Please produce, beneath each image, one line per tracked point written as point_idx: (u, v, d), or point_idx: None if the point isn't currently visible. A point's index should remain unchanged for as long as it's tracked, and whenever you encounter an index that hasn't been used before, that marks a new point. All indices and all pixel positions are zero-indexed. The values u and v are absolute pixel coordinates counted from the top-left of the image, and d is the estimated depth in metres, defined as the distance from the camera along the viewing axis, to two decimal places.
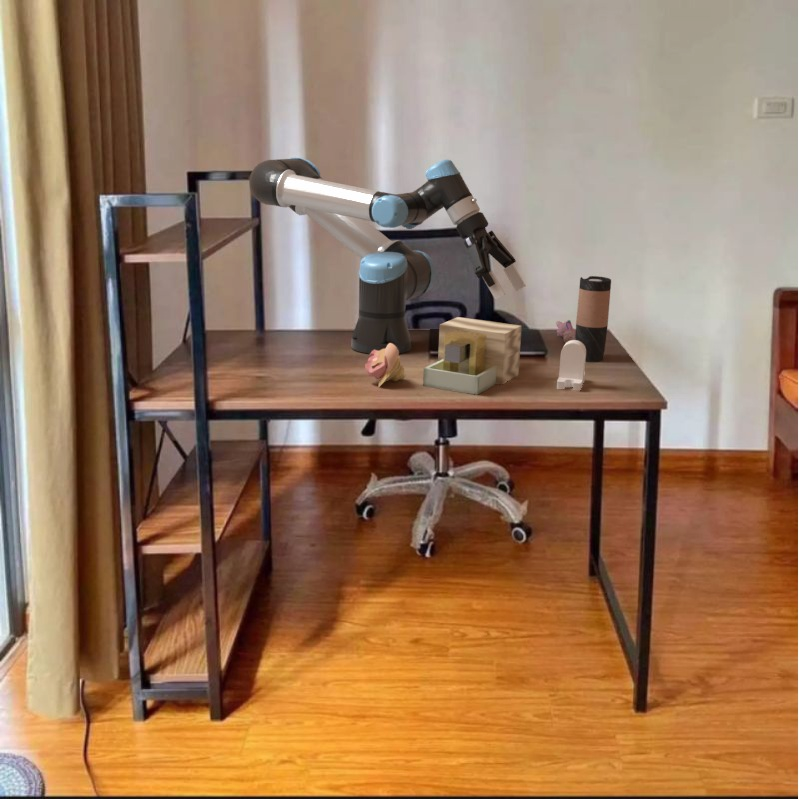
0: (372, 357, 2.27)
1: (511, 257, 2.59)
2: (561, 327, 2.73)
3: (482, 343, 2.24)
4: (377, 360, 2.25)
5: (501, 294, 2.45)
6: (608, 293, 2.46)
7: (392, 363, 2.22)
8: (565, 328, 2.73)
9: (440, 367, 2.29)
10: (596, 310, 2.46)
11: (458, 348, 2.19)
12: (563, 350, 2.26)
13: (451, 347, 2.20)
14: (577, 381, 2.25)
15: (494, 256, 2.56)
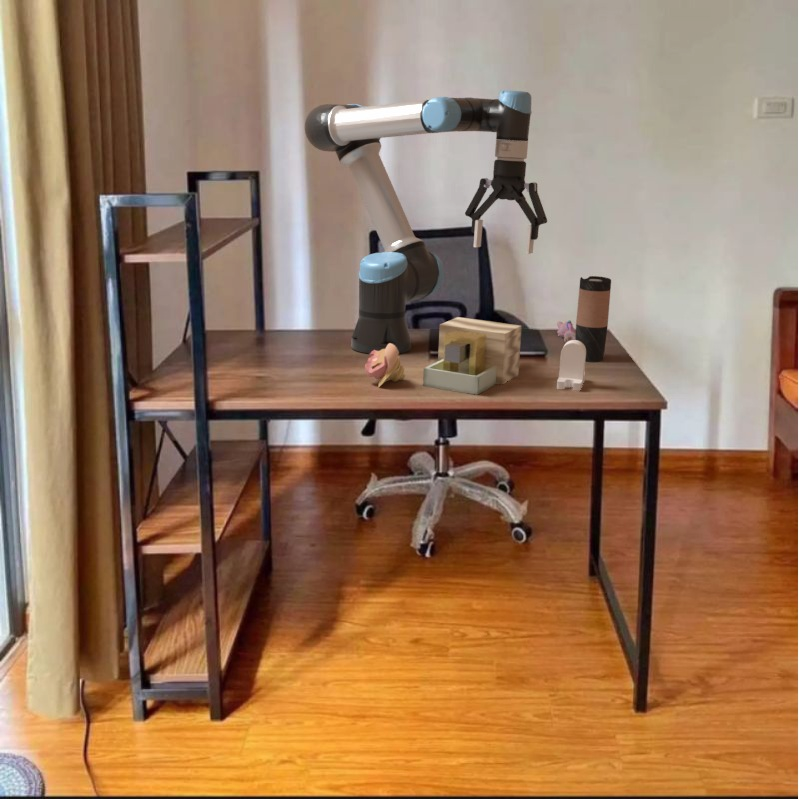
0: (372, 357, 2.27)
1: (538, 219, 2.38)
2: (562, 327, 2.73)
3: (482, 343, 2.24)
4: (377, 360, 2.25)
5: None
6: (608, 293, 2.46)
7: (392, 363, 2.22)
8: (566, 328, 2.72)
9: (440, 367, 2.29)
10: (596, 310, 2.46)
11: (458, 348, 2.19)
12: (563, 350, 2.26)
13: (451, 347, 2.20)
14: (577, 381, 2.25)
15: None
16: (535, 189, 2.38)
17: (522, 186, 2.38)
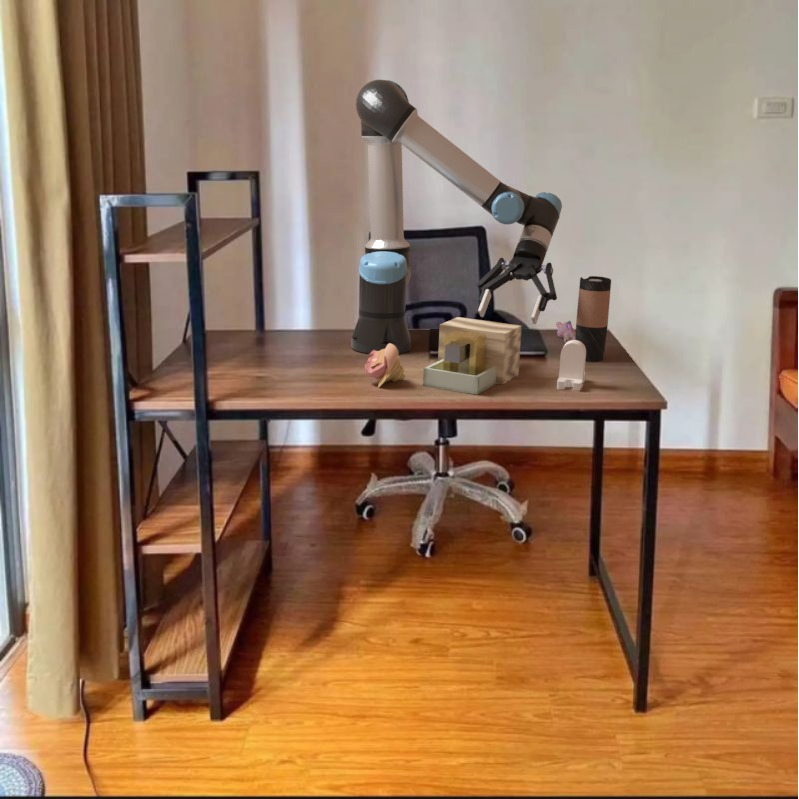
0: (372, 357, 2.27)
1: (550, 290, 2.44)
2: (561, 328, 2.73)
3: (482, 343, 2.24)
4: (377, 360, 2.25)
5: None
6: (608, 293, 2.46)
7: (392, 363, 2.22)
8: (565, 329, 2.72)
9: (440, 367, 2.29)
10: (596, 310, 2.46)
11: (458, 348, 2.19)
12: (563, 350, 2.26)
13: (451, 347, 2.20)
14: (577, 381, 2.25)
15: (536, 286, 2.48)
16: (551, 270, 2.48)
17: (539, 265, 2.49)
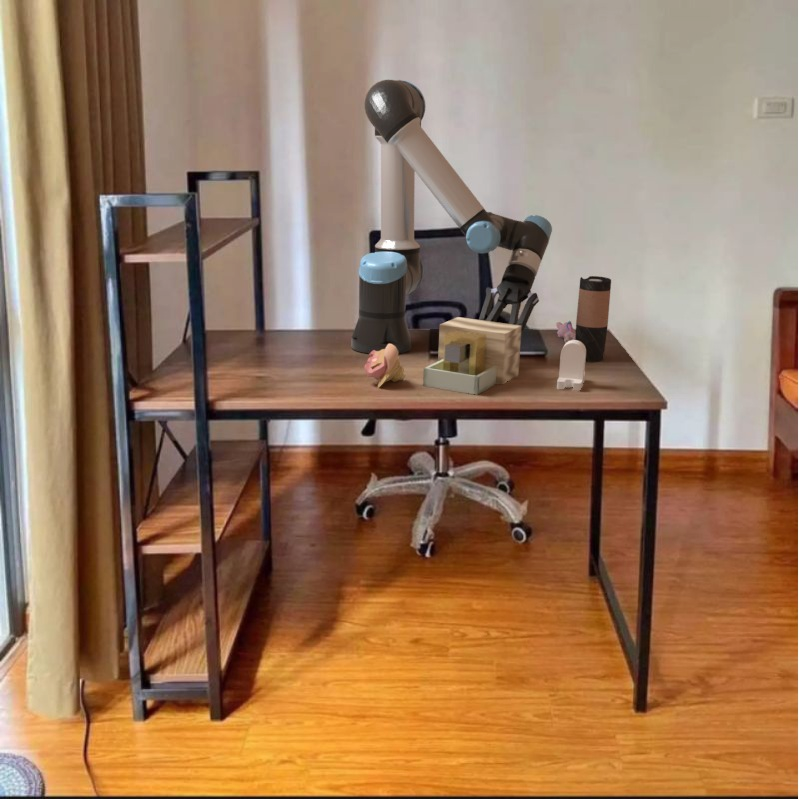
0: (371, 358, 2.26)
1: (518, 321, 2.41)
2: (561, 328, 2.72)
3: (482, 343, 2.24)
4: (377, 360, 2.25)
5: None
6: (608, 293, 2.46)
7: (392, 363, 2.21)
8: (565, 329, 2.71)
9: (440, 367, 2.29)
10: (596, 310, 2.46)
11: (458, 348, 2.19)
12: (563, 350, 2.26)
13: (451, 347, 2.20)
14: (577, 381, 2.25)
15: None
16: (534, 301, 2.43)
17: (527, 292, 2.44)
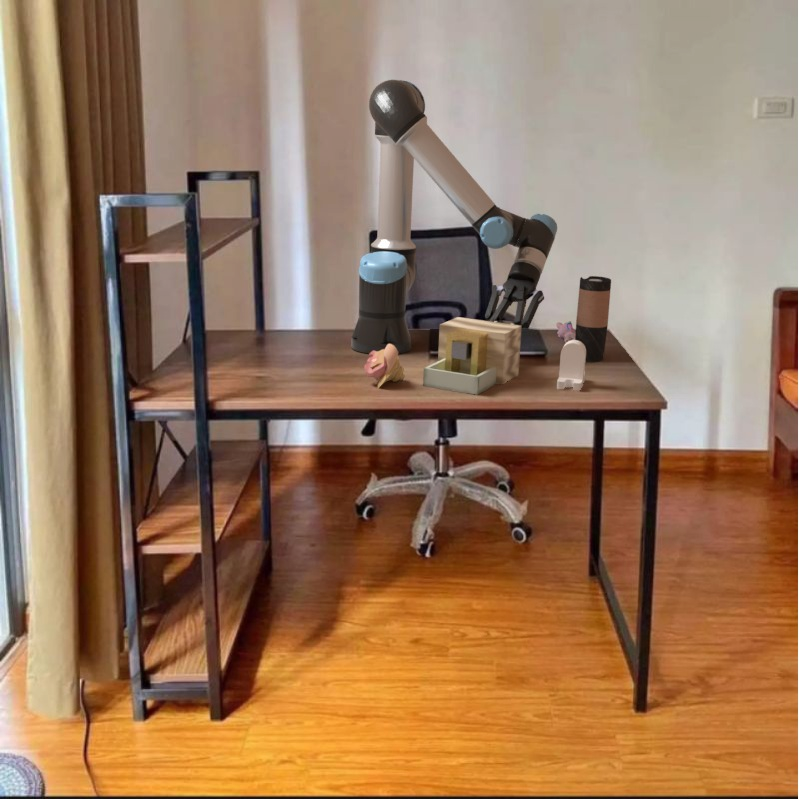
0: (371, 358, 2.26)
1: (523, 318, 2.44)
2: (562, 328, 2.72)
3: (483, 342, 2.25)
4: (377, 360, 2.25)
5: None
6: (608, 293, 2.46)
7: (391, 364, 2.21)
8: (566, 329, 2.71)
9: (440, 367, 2.29)
10: (596, 310, 2.46)
11: (464, 345, 2.22)
12: (563, 350, 2.26)
13: (457, 344, 2.23)
14: (577, 381, 2.25)
15: None
16: (540, 299, 2.46)
17: (532, 289, 2.47)
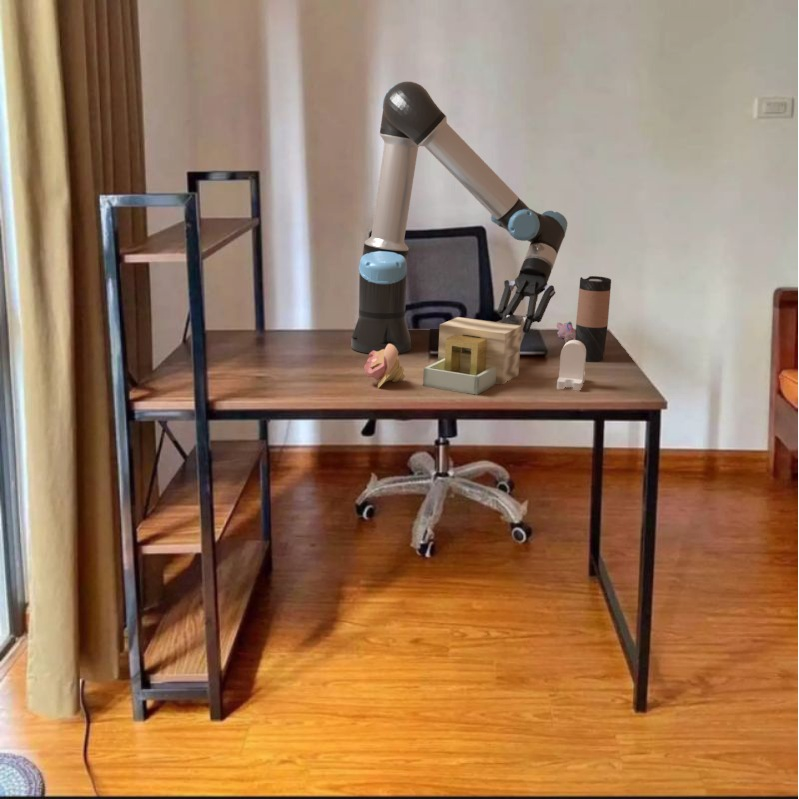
0: (371, 358, 2.26)
1: (535, 312, 2.51)
2: (562, 328, 2.72)
3: (483, 348, 2.25)
4: (377, 360, 2.24)
5: None
6: (608, 293, 2.46)
7: (391, 364, 2.21)
8: (566, 329, 2.71)
9: (440, 367, 2.29)
10: (596, 310, 2.46)
11: None
12: (563, 350, 2.26)
13: None
14: (577, 381, 2.25)
15: None
16: (551, 294, 2.53)
17: (544, 284, 2.54)
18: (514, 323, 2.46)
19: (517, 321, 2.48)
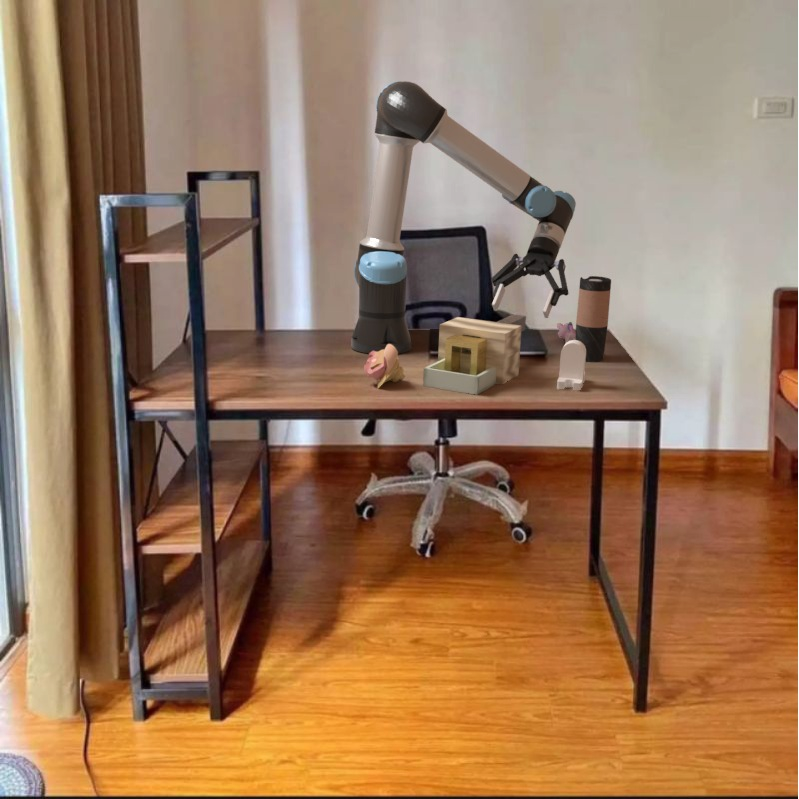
0: (371, 358, 2.26)
1: None
2: (562, 329, 2.71)
3: (483, 348, 2.25)
4: (376, 361, 2.24)
5: None
6: (608, 293, 2.46)
7: (391, 364, 2.21)
8: (566, 330, 2.70)
9: (440, 367, 2.29)
10: (596, 310, 2.46)
11: None
12: (563, 350, 2.26)
13: None
14: (577, 381, 2.25)
15: (549, 282, 2.56)
16: (563, 267, 2.56)
17: (552, 262, 2.57)
18: (514, 323, 2.46)
19: (517, 321, 2.48)
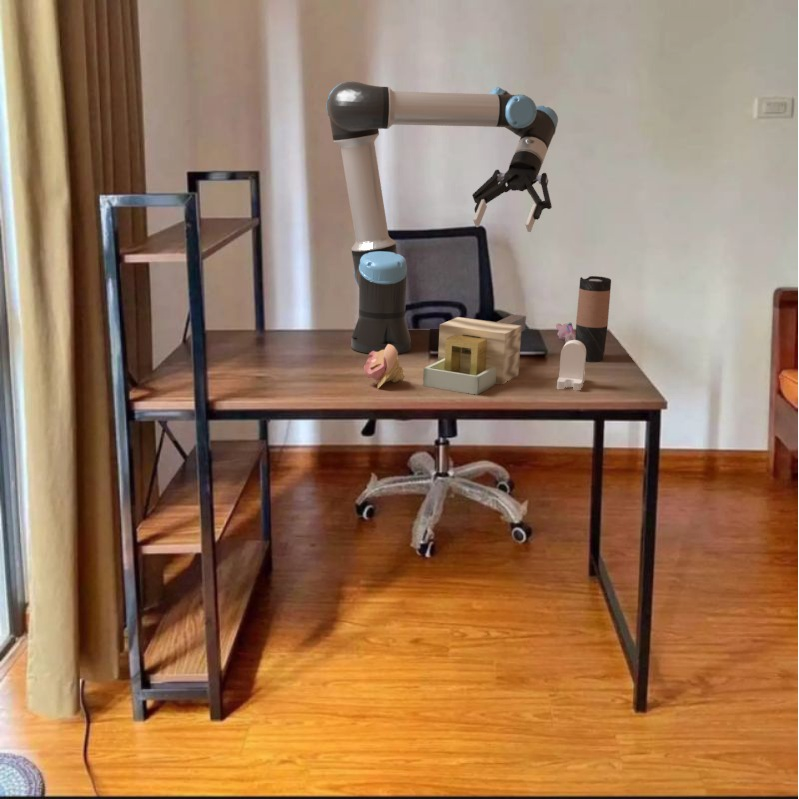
0: (371, 358, 2.26)
1: None
2: (562, 329, 2.70)
3: (483, 348, 2.25)
4: (376, 361, 2.24)
5: None
6: (608, 293, 2.46)
7: (391, 364, 2.21)
8: (566, 330, 2.70)
9: (440, 367, 2.29)
10: (596, 310, 2.46)
11: None
12: (563, 350, 2.26)
13: None
14: (577, 381, 2.25)
15: (531, 196, 2.50)
16: (546, 181, 2.50)
17: (535, 176, 2.50)
18: (514, 323, 2.46)
19: (517, 321, 2.48)
